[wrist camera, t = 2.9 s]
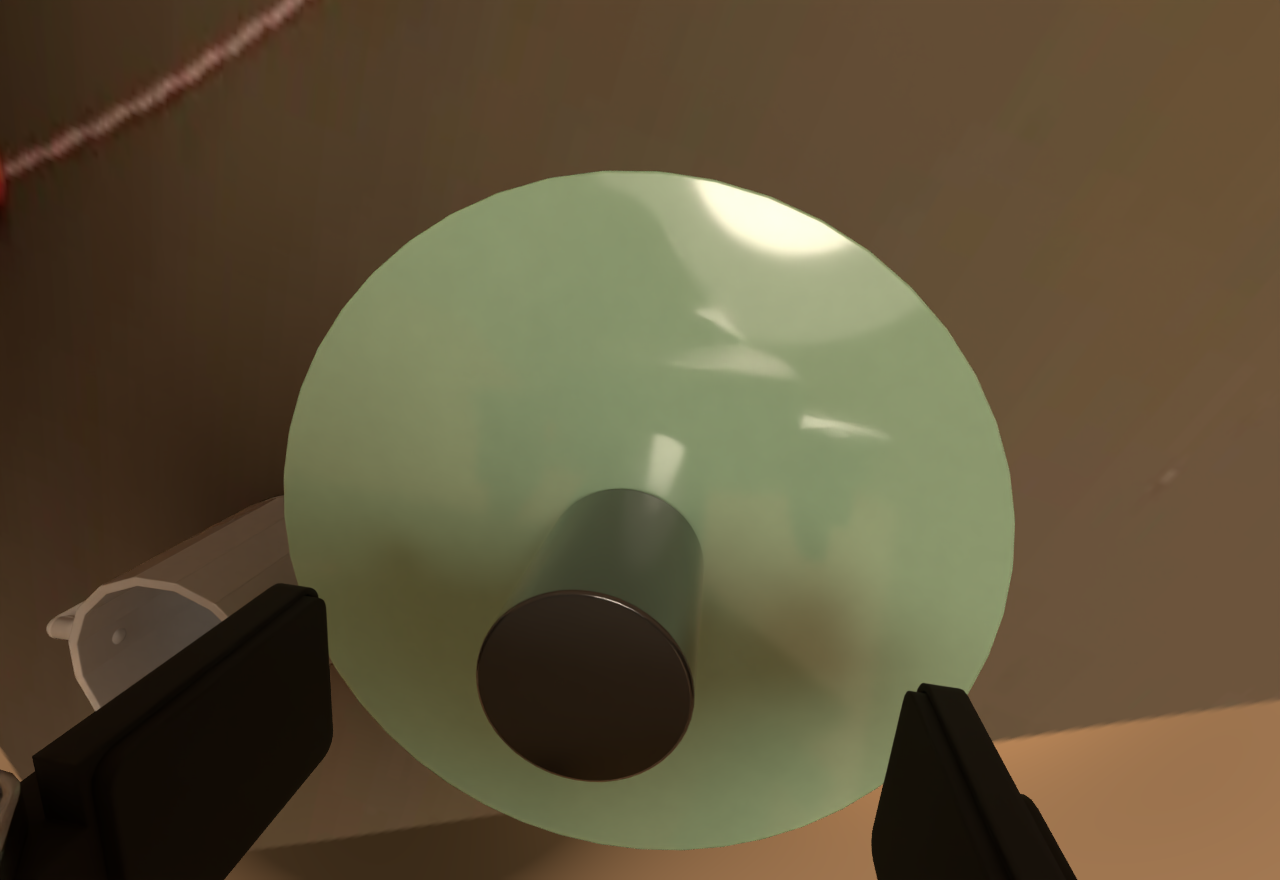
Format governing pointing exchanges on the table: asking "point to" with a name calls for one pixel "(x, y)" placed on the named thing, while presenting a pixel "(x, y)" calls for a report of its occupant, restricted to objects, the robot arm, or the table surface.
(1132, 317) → the table surface
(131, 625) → the mug
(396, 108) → the table surface
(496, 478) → the pot lid
